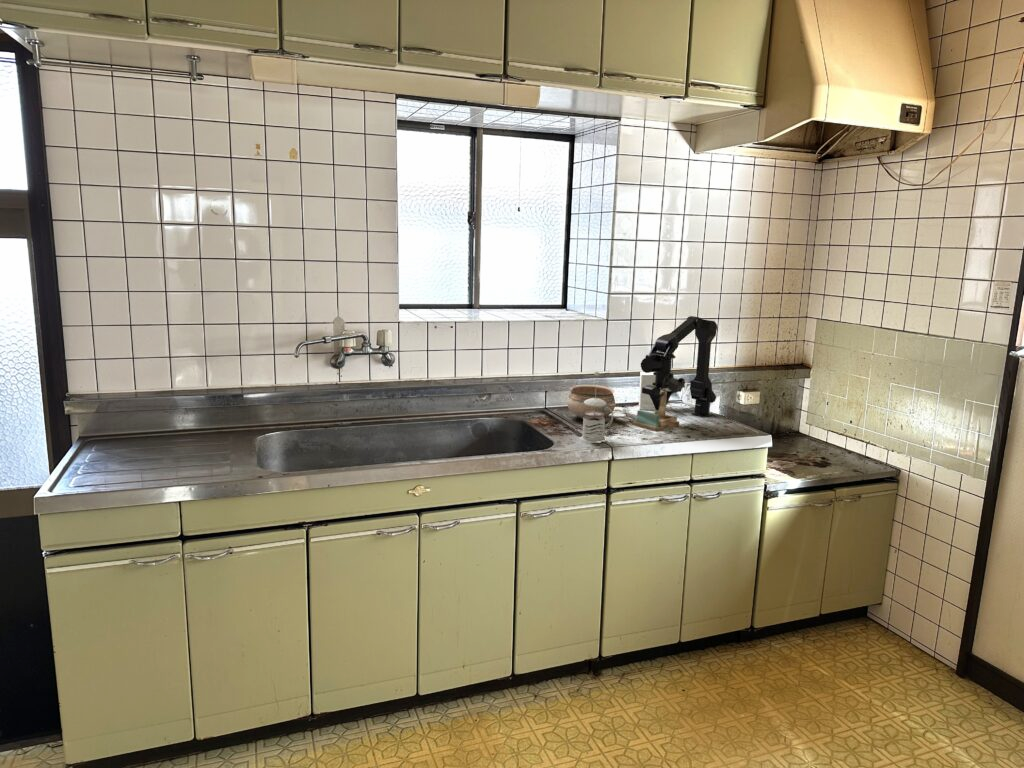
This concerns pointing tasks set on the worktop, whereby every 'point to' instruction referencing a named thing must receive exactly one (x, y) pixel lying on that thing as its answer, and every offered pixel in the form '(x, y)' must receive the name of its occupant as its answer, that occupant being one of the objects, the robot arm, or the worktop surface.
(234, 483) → the worktop surface
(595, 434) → the french press
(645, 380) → the skincare box
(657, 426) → the cradle
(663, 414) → the peg
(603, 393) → the cooking pot
